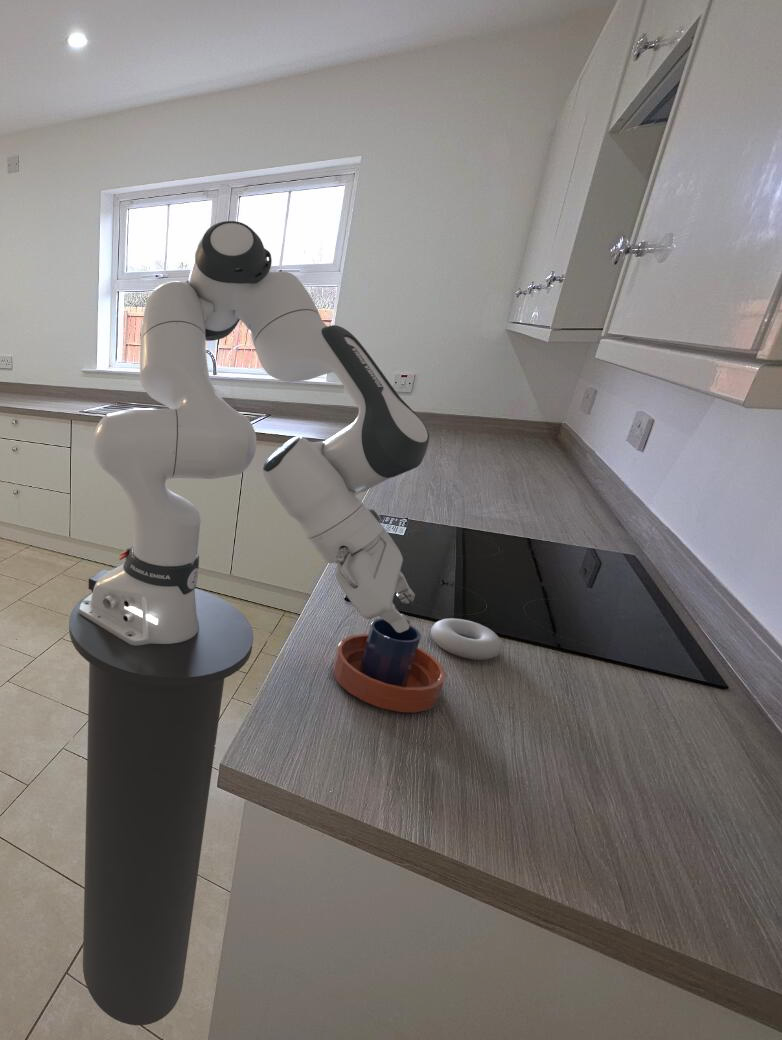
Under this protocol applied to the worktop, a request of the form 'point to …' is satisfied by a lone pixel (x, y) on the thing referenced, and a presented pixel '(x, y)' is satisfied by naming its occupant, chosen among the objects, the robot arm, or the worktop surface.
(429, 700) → the bowl
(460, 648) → the donut
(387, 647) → the cup
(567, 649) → the worktop surface
